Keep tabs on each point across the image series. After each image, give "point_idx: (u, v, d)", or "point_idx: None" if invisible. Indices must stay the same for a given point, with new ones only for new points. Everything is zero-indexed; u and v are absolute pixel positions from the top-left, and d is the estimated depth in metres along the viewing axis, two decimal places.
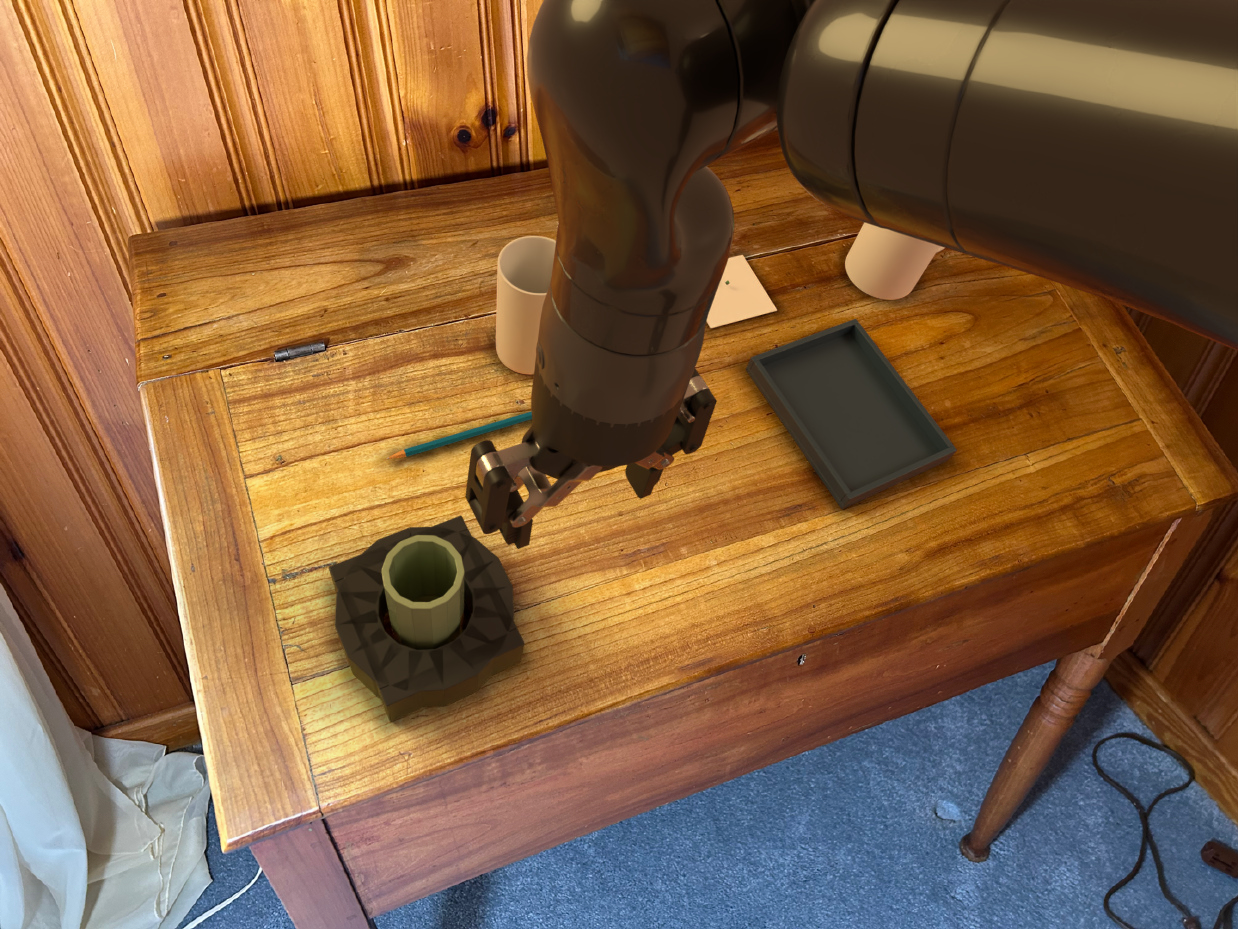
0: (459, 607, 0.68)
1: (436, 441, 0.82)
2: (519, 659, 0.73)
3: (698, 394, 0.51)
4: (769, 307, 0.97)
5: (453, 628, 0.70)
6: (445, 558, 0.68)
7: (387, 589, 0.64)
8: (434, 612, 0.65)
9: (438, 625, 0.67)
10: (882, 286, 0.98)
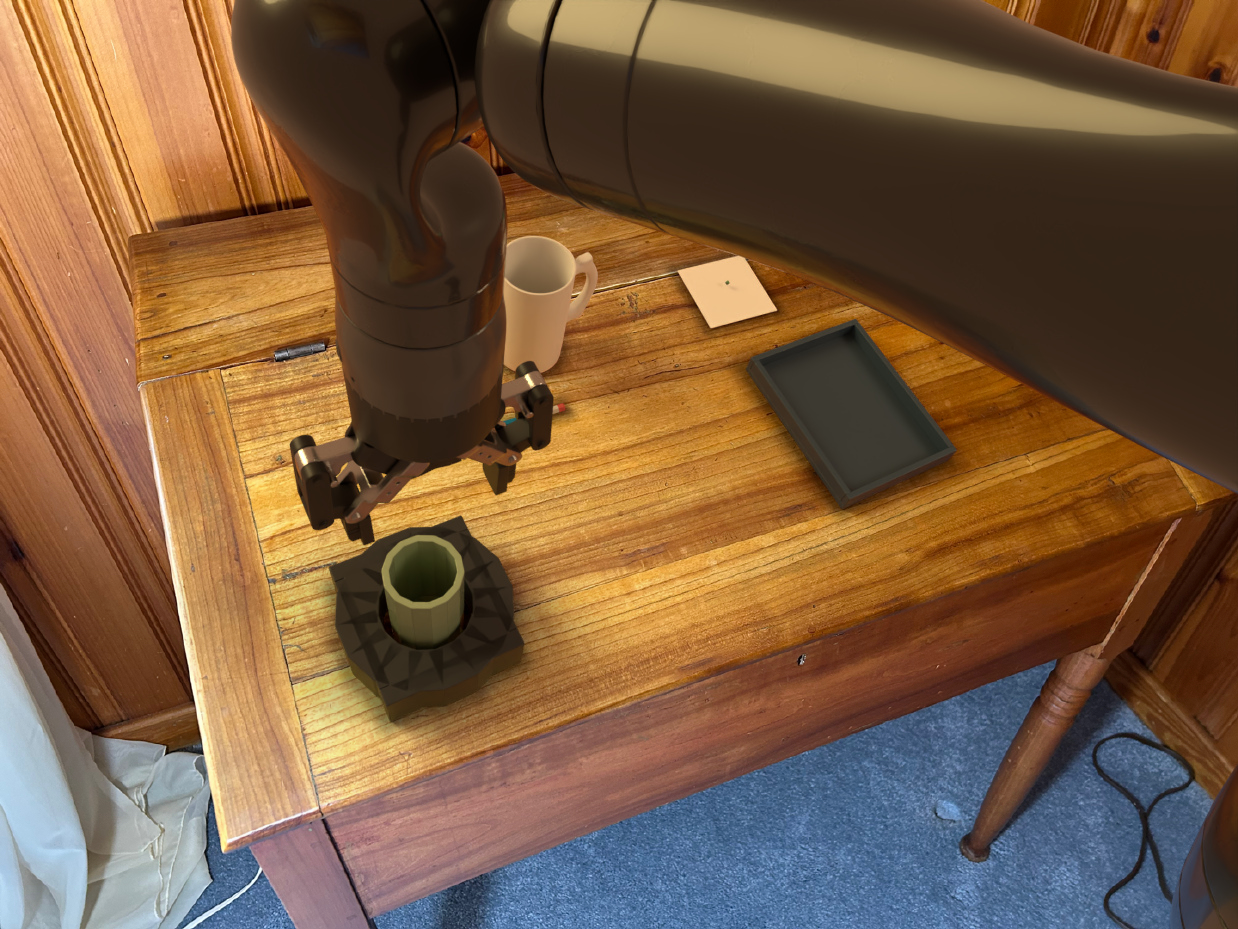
0: (459, 607, 0.68)
1: None
2: (519, 659, 0.73)
3: (533, 389, 0.50)
4: (769, 307, 0.97)
5: (453, 628, 0.70)
6: (445, 558, 0.68)
7: (387, 589, 0.64)
8: (434, 612, 0.65)
9: (438, 625, 0.67)
10: None
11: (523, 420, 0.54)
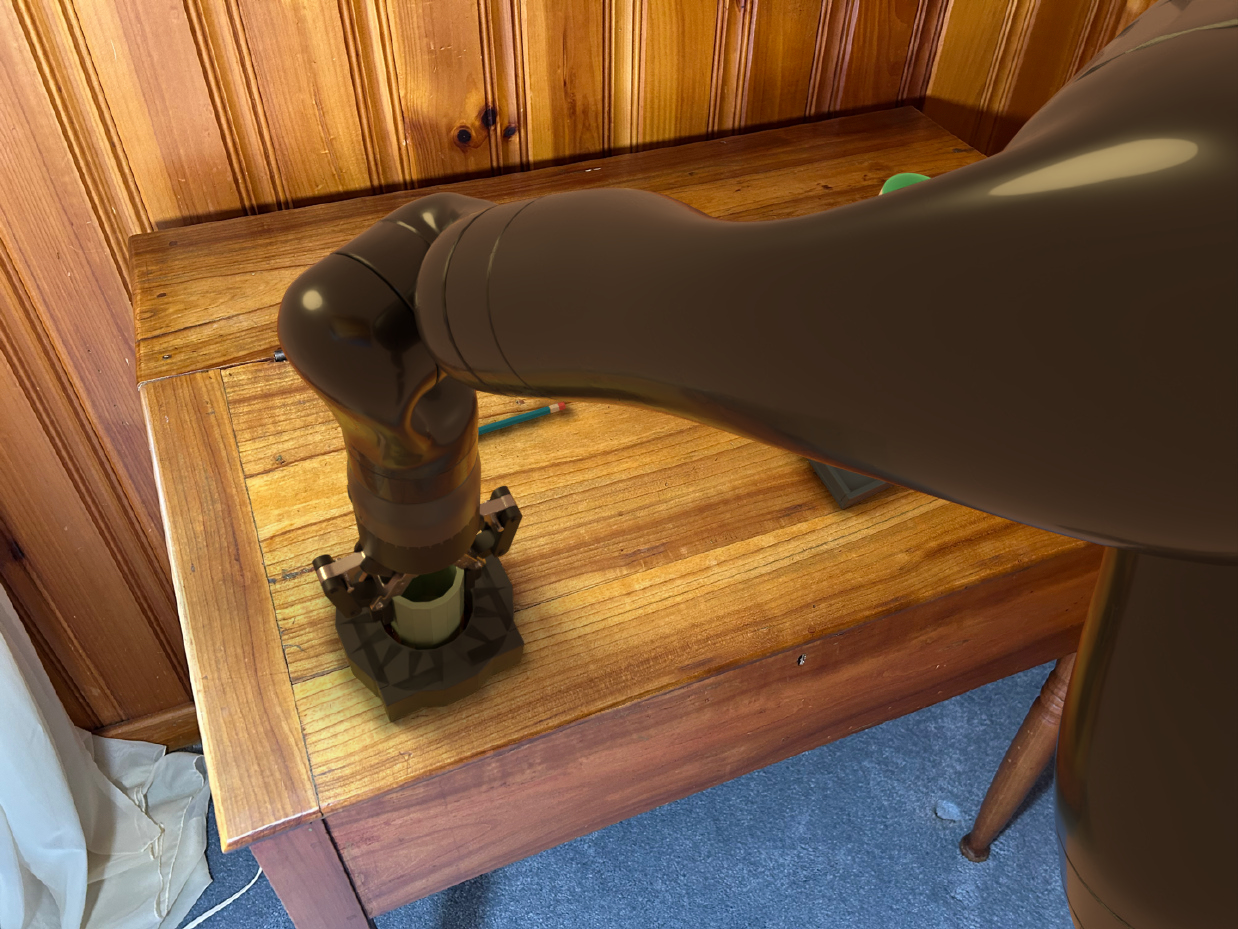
0: (459, 607, 0.68)
1: None
2: (519, 659, 0.73)
3: (507, 509, 0.62)
4: None
5: (453, 628, 0.70)
6: None
7: None
8: (434, 612, 0.65)
9: (438, 625, 0.67)
10: None
11: (488, 532, 0.66)
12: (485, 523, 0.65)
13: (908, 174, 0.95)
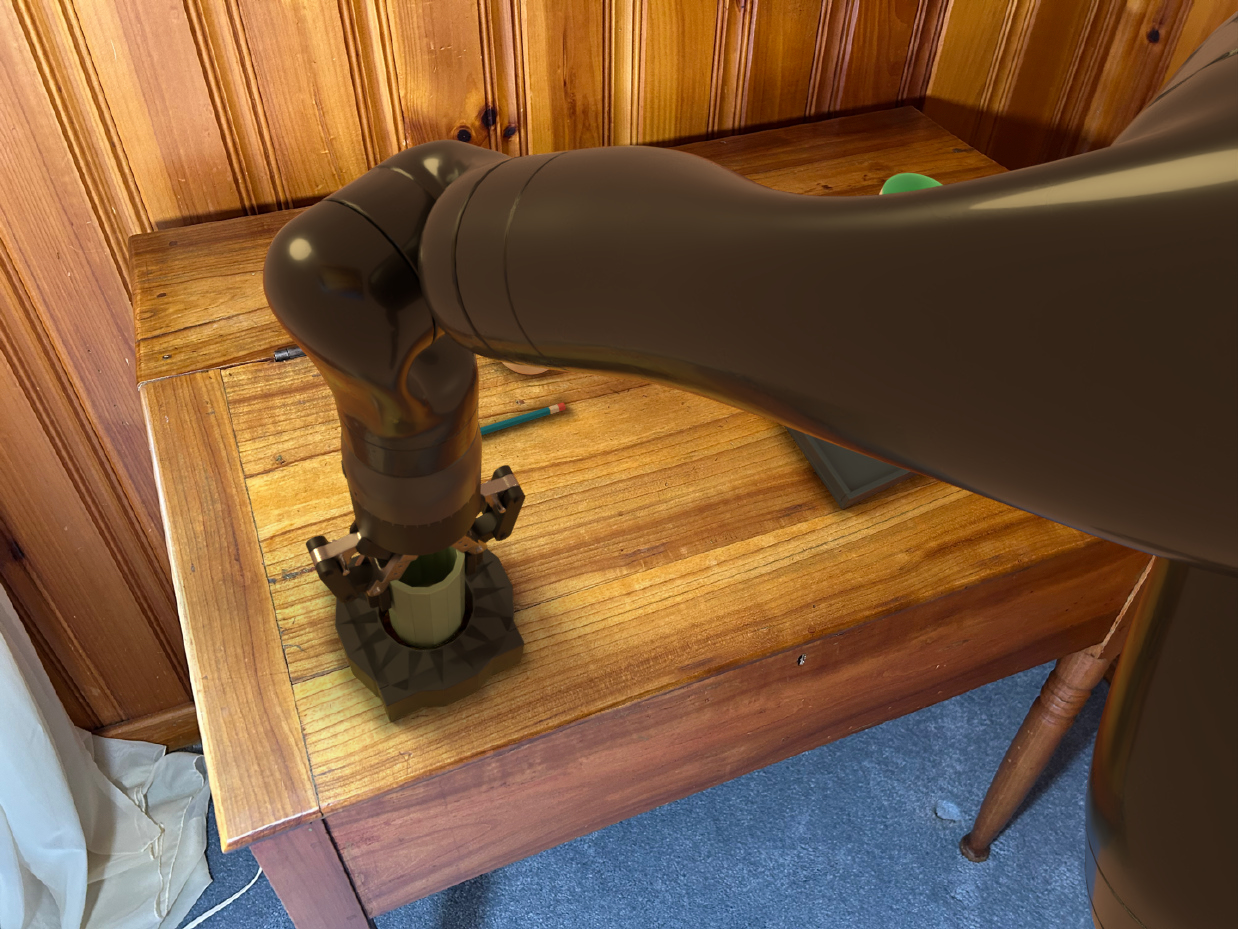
0: (459, 593, 0.65)
1: None
2: (519, 659, 0.73)
3: (510, 489, 0.59)
4: None
5: (453, 616, 0.67)
6: None
7: None
8: (433, 598, 0.62)
9: (438, 612, 0.65)
10: None
11: (489, 514, 0.63)
12: (486, 505, 0.63)
13: (908, 174, 0.95)
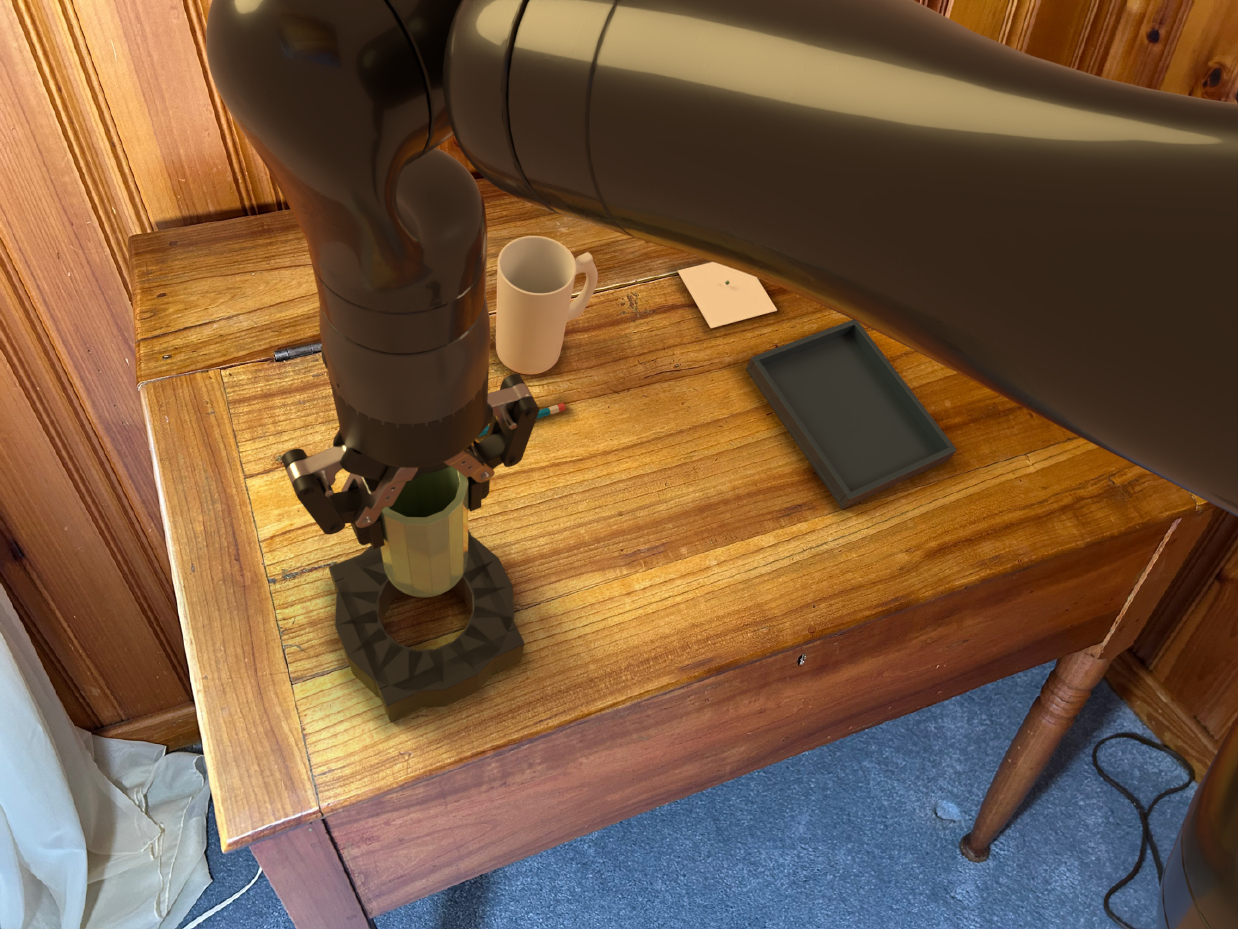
0: (462, 529, 0.57)
1: None
2: (519, 659, 0.73)
3: (521, 400, 0.51)
4: (769, 307, 0.97)
5: (455, 557, 0.59)
6: (445, 471, 0.57)
7: None
8: (432, 531, 0.54)
9: (437, 550, 0.56)
10: None
11: (497, 436, 0.55)
12: (493, 424, 0.54)
13: None
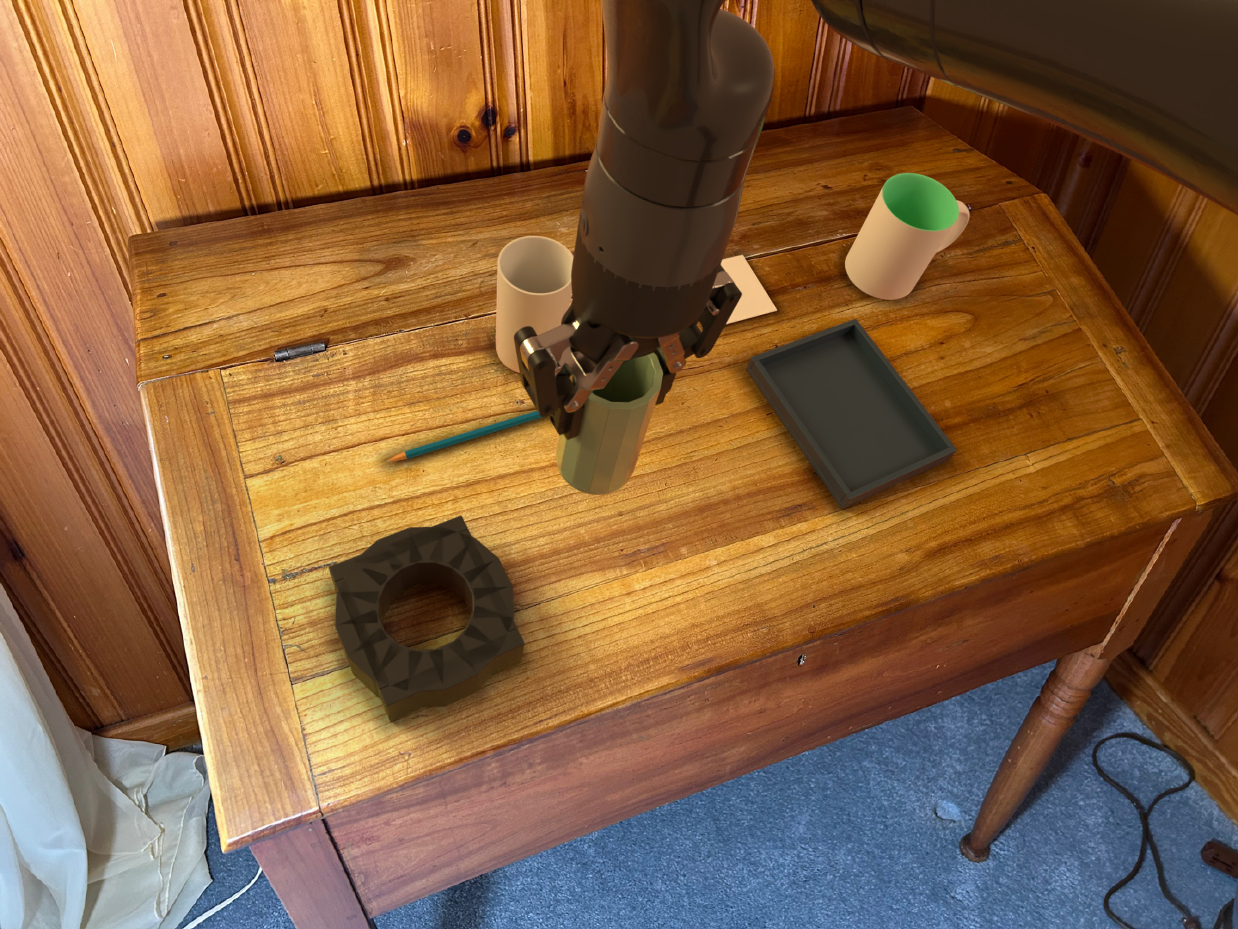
0: (649, 421, 0.59)
1: (436, 443, 0.82)
2: (519, 659, 0.73)
3: (726, 286, 0.53)
4: (769, 307, 0.97)
5: (636, 451, 0.62)
6: (633, 365, 0.59)
7: None
8: (632, 416, 0.56)
9: (628, 440, 0.59)
10: (882, 286, 0.98)
11: (688, 328, 0.57)
12: None
13: (908, 174, 0.95)
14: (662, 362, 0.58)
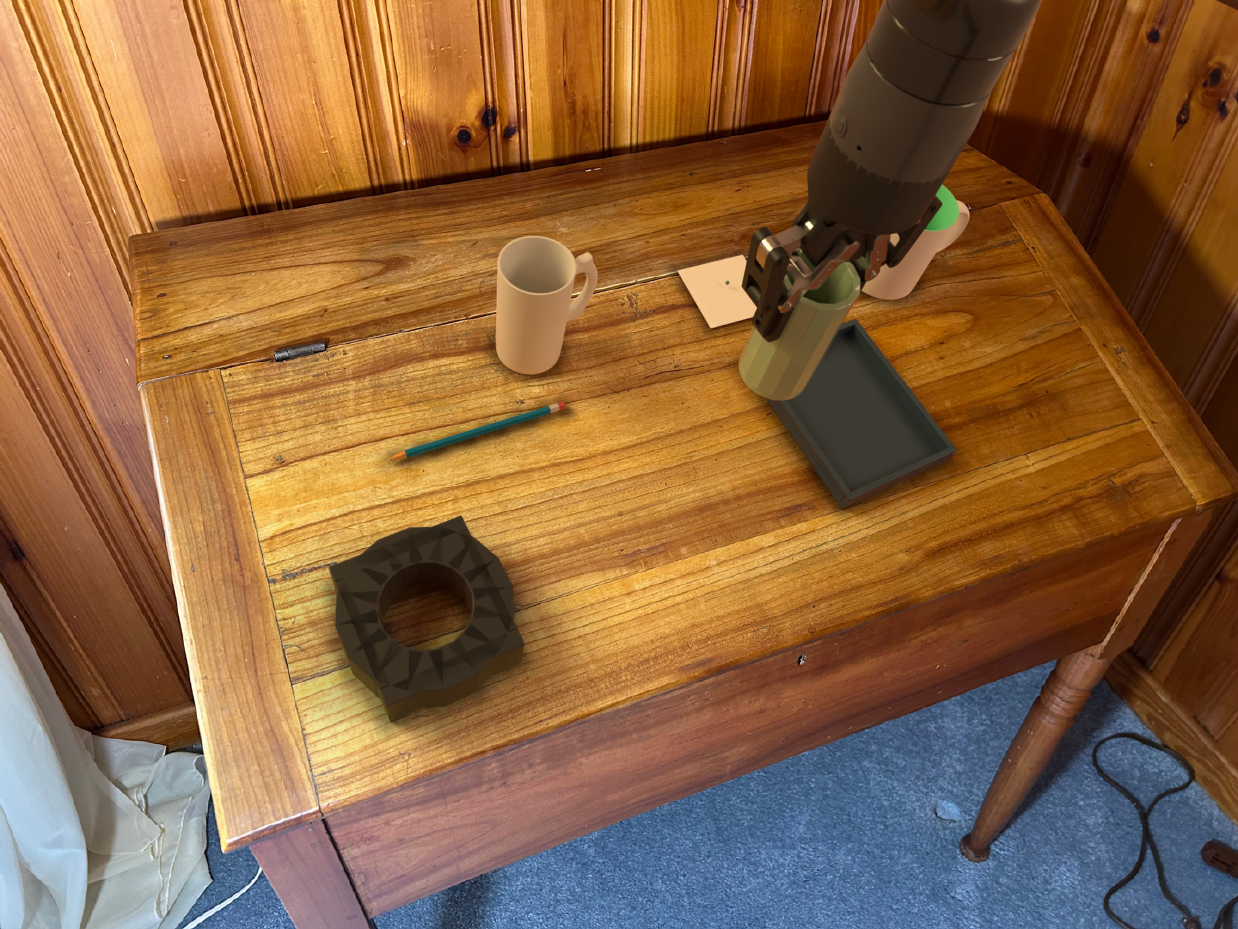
0: None
1: (437, 442, 0.82)
2: (519, 659, 0.73)
3: None
4: None
5: (822, 357, 0.68)
6: None
7: None
8: (834, 318, 0.62)
9: (823, 342, 0.65)
10: (882, 286, 0.98)
11: None
12: None
13: None
14: (858, 271, 0.64)
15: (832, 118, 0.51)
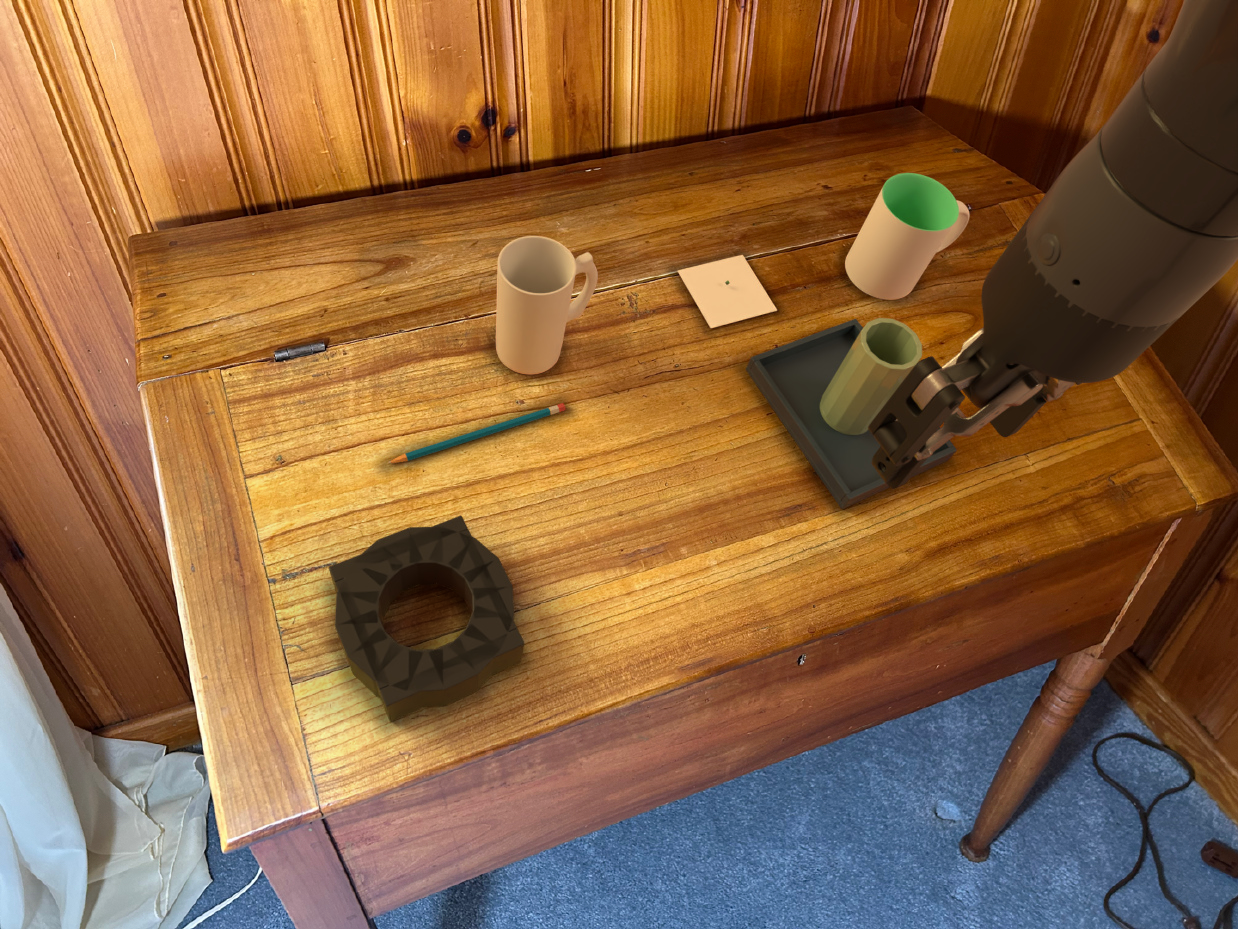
0: None
1: (437, 444, 0.82)
2: (519, 659, 0.73)
3: None
4: (769, 307, 0.97)
5: None
6: (894, 340, 0.84)
7: (869, 354, 0.80)
8: (902, 375, 0.81)
9: (891, 392, 0.84)
10: (882, 286, 0.98)
11: None
12: None
13: (908, 174, 0.95)
14: None
15: (1032, 237, 0.39)
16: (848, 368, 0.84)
